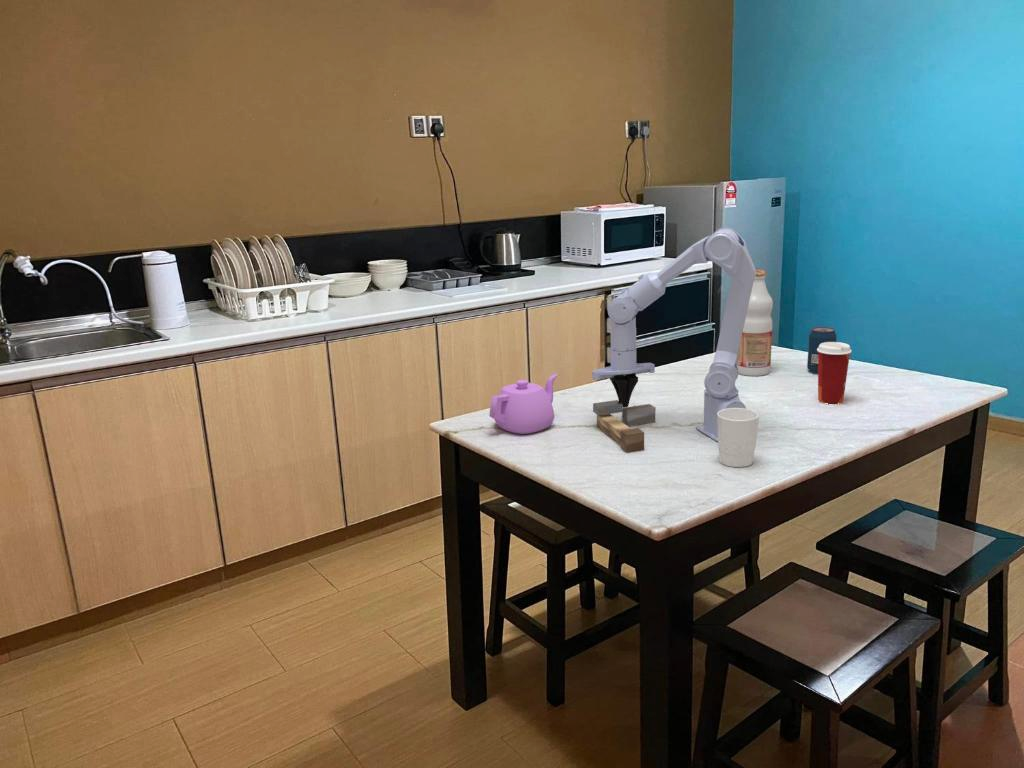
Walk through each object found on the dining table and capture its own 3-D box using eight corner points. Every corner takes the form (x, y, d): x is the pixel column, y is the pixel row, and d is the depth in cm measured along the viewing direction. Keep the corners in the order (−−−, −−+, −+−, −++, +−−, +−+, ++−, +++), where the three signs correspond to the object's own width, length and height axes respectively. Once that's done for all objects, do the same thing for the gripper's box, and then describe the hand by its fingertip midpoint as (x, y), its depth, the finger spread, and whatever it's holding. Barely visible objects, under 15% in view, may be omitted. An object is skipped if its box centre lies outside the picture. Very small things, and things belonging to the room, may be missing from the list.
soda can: (815, 367, 220) (818, 325, 216) (839, 371, 215) (842, 328, 211) (801, 372, 216) (804, 329, 212) (825, 377, 210) (828, 333, 207)
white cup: (749, 452, 162) (751, 406, 159) (762, 467, 154) (764, 419, 152) (711, 455, 162) (712, 408, 159) (722, 469, 154) (723, 421, 151)
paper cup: (854, 403, 189) (859, 346, 185) (829, 408, 186) (833, 350, 182) (830, 394, 196) (834, 339, 192) (806, 399, 193) (809, 343, 189)
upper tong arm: (635, 438, 168) (635, 431, 168) (622, 440, 168) (622, 433, 167) (609, 419, 181) (609, 413, 181) (597, 421, 181) (596, 414, 180)
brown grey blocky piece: (686, 443, 169) (687, 425, 168) (626, 452, 165) (626, 434, 164) (649, 418, 185) (649, 402, 184) (594, 426, 181) (593, 410, 180)
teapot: (577, 421, 185) (576, 376, 182) (510, 443, 174) (508, 395, 171) (540, 409, 196) (538, 366, 192) (475, 429, 184) (472, 383, 181)
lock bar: (622, 412, 179) (622, 403, 179) (598, 415, 178) (598, 407, 177) (617, 408, 182) (617, 399, 181) (593, 411, 180) (592, 403, 180)
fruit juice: (727, 371, 220) (730, 271, 212) (751, 365, 224) (755, 267, 216) (753, 378, 212) (758, 275, 204) (777, 372, 217) (782, 270, 209)
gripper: (645, 341, 182) (644, 397, 186) (586, 348, 178) (587, 405, 182) (659, 347, 176) (658, 405, 180) (598, 355, 172) (599, 414, 176)
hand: (623, 406), depth 181 cm, fingers closed
